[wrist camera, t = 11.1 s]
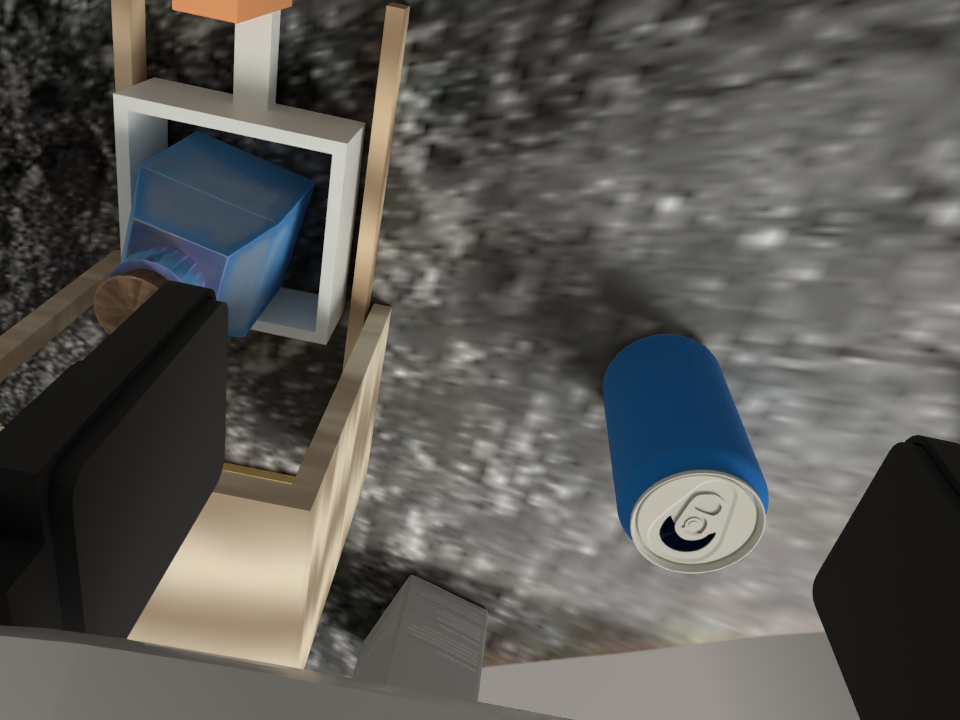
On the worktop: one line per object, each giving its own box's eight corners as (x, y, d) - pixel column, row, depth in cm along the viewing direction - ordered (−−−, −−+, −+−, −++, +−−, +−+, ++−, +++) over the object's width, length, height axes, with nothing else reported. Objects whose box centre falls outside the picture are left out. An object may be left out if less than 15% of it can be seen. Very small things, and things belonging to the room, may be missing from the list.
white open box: (150, -103, 32) (59, -109, 26) (386, -50, 33) (350, -44, 27) (158, 271, 41) (92, 331, 35) (344, 309, 41) (310, 375, 35)
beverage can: (582, 402, 44) (593, 551, 33) (635, 309, 40) (666, 442, 30) (682, 441, 44) (724, 598, 34) (742, 353, 41) (808, 497, 31)
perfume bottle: (172, 238, 40) (44, 347, 30) (197, 130, 37) (64, 209, 27) (283, 283, 41) (195, 404, 31) (316, 182, 38) (231, 277, 28)
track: (125, -57, 33) (108, -57, 32) (410, 6, 34) (404, 9, 33) (144, 437, 47) (132, 452, 46) (346, 477, 48) (341, 493, 46)
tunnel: (114, 249, 41) (-119, 426, 26) (391, 306, 41) (310, 511, 27) (124, 427, 47) (-62, 650, 33) (366, 475, 47) (288, 716, 33)
